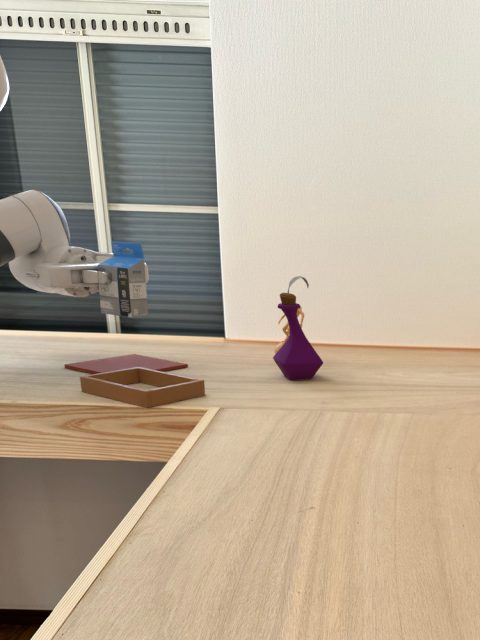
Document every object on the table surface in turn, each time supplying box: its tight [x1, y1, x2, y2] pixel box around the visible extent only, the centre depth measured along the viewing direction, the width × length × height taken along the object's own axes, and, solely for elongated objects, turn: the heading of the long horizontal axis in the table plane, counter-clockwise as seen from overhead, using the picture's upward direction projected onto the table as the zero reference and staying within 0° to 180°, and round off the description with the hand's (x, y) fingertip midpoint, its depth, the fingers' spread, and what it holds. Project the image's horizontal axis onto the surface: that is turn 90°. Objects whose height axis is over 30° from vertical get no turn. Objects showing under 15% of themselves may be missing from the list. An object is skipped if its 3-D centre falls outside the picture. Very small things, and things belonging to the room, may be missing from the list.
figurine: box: [274, 305, 305, 355], centre depth 148 cm, size 8×6×12 cm
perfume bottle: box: [272, 275, 324, 381], centre depth 132 cm, size 8×8×18 cm
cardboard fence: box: [79, 367, 206, 409], centre depth 119 cm, size 12×17×2 cm
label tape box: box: [97, 241, 149, 319], centre depth 127 cm, size 9×4×12 cm, turn 55°
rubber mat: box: [64, 353, 189, 375], centre depth 139 cm, size 16×16×1 cm
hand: (121, 277), depth 127 cm, fingers closed on label tape box, 4 cm apart
